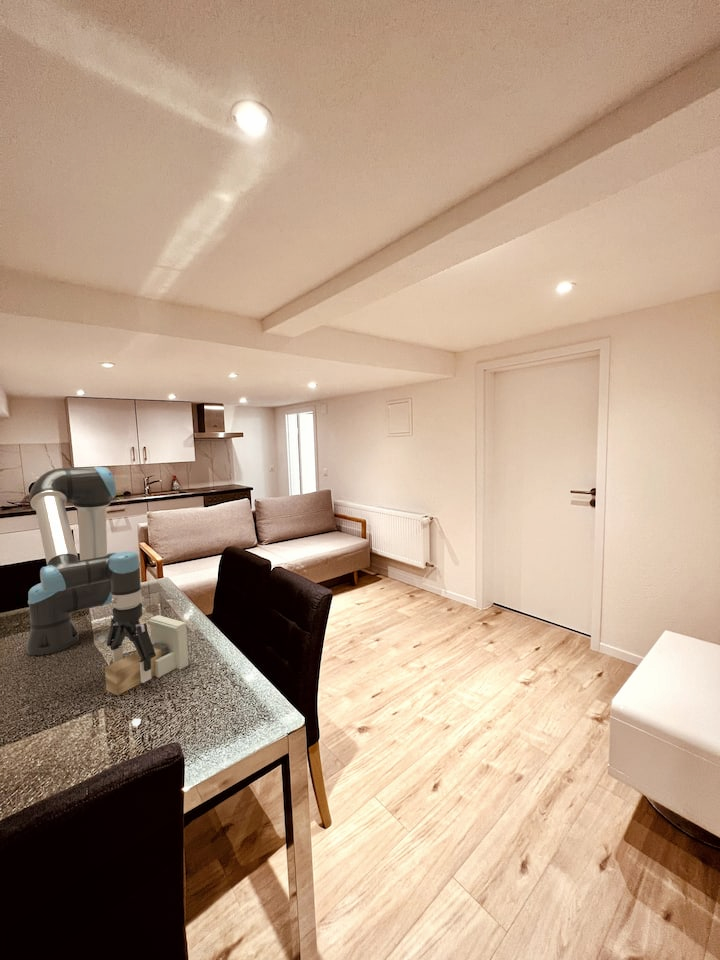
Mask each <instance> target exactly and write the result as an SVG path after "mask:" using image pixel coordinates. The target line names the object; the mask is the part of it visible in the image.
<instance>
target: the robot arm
mask: <svg viewBox="0 0 720 960" xmlns="http://www.w3.org/2000/svg"><path fill="white" fill-rule="evenodd" d="M116 496H117V487H116V482H115V478H114V476H113V474H112V471H111V470H110V468H108V467H107V466H106V467H105V466H83V467H67V468H66V467H65V468H64V467H61V468H59V467H58V468H55V469H52V470H49V471H46V472H45V473H43V474H42V475H40V477H38V479H36V481H34V484H33V485H32V486H31V489H30V491H29V503H30V506H31V508H32V510H34V511H35V512H36V517H37V518H36V519H37V522H38V523H37V524H38V527H39V533H40V537H41V541H42V547H43V552H44V556H45V561H46V566H42V567H41V568H40V571H39V577H40V578H39V579H40V583H37V584H35V585H34V586H32V587H31V588H30V589H29V591H28V592H27V594H28V595H27V596H28V597H27V598H28V600H27V604H28V607H29V608H28V609H29V619H30V620H29V621H30V631H29V634H28V637H27V641H26V643H25V644H26V645H25V653H26V654H27V655H29V656H34V655H37V656H45V655H46V656H47V655H51V654H55V653H58V652H61V651H64V650H66V649H68V648H71V647H73V646H74V645H75V644H77V643H78V641H79V640H80V637H79V636H80V635H79V632H78V629H77V628H76V626H75V624H74V622H73V621H72V613H76V612H80V611H84V610H88V609H92V608H97V607H102V606H104V605H108V604H111V603H112V607H113V608H112V618H111V619H110V627H109V633H108V637H107V640H106V646H107V647H110V649H111V651H112V652H111V653H112V654H111V655H112V664H113V663H115V662H117V661H119V660H121V659H123V658H124V649H123V642H124V640H125V638H127V639H128V640H129V641H130V642H132V644H133V646H134V647H135V649H136V652H138V653H139V655H140V657H141V660H140V661H139V662H140V674H141V683H140V684H144V683H147V681H149V680H152V677H151V658H153V657H155V656H156V654H155V651H154V648H153V645H152V642H151V636H150V635H149V631H148V624H147V622H146V623H143V624H140V618H141V617H142V616H143V613H144V611H143V604H142V602H143V598H142V596H143V595H142V588H141V572H140V570H141V569H140V564H141V561H140V560H139V559H140V557H139V554H138V552H136V551H130V550H129V551H121V552H109V553H108V541H107V539H108V536H107V534H108V533H107V507H108V506H110V505H111V499H114V498H115V497H116ZM67 502H71V503H72V506H73V507H74V508H76V509H77V517H78V519H77V520H78V524H77V525H78V544H79V545H78V546H79V547H78V549H79V556H78V552H77V548H76V547H77V546H76V543H75V540H74V537H73V536H74V535H73V533H72V529H71V524H70V521H69V517H68V513H67V510H66V509H67V508H66V504H67ZM44 654H45V655H44Z"/></svg>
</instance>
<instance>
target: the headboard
mask: <svg viewBox="0 0 720 960" xmlns="http://www.w3.org/2000/svg"><path fill="white" fill-rule="evenodd" d="M147 625H149V629H150V640H151V642H152V644H154V643H159V644H162V645H165V646H168V654H167V655H165V656H163V657H161V658H159V659H157V660H155V677H156V678H160V677H162V676H165V675H166V674H168V673H170V672H172V671H173V670H174V671H175V669H177V670H183V669H185V668H186V667H188V666H189V653H188V652H189V651H188V633H187V623H186V622H185V621H182V620H181V621H180V620H179V619H173V618H170V617H168V616H163V615H160V614H157V615H155V616H152V617H150V618H149V619H148V620H147Z"/></svg>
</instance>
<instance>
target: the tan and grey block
mask: <svg viewBox="0 0 720 960" xmlns="http://www.w3.org/2000/svg"><path fill="white" fill-rule="evenodd" d="M152 645H153V648H154V651H155V654H156V656H155V657H153V658H151V678H154V677H156V675H155V660H157V659H159V658H161V657H163V656H165V655H167V654H168V646H165V645H162V644H159V643H154V644H152ZM140 660H141V657H140V655H139V653H138V651H136V652H135V653H132V654H131V655H128V656H126V657H123V659H121V660H119V661H117V662H115V663H113V662H112V663H110V664H109V665H107V666H105V667H104V674H105V686H106V687H105V688H106V689H105V691H106V692H108V693H111V694H113V695H116V696H120V695H122V694H123V693H125V692H127V691H128V690H130V689H132V688H134V687H137V686H138V685H140V684H142V683H141V674H140V662H139V661H140Z"/></svg>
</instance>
